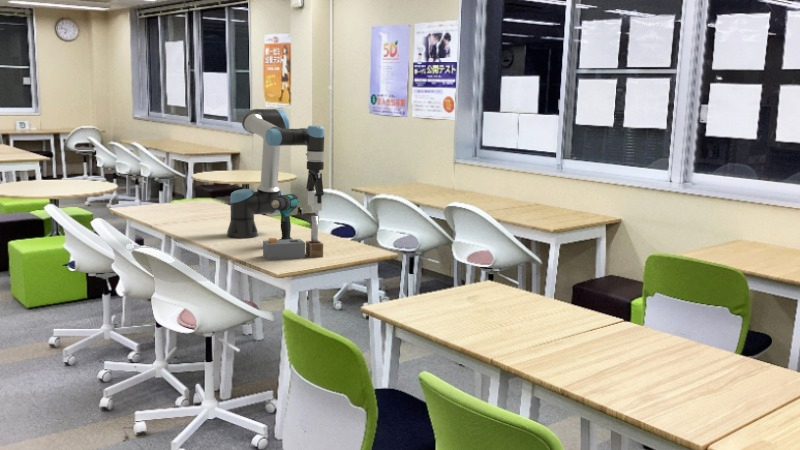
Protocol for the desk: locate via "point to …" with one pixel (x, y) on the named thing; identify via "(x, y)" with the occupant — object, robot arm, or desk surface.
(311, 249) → the hollow brown square tube
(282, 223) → the power drill
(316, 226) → the cylinder
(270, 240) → the plunger
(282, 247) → the socket block
